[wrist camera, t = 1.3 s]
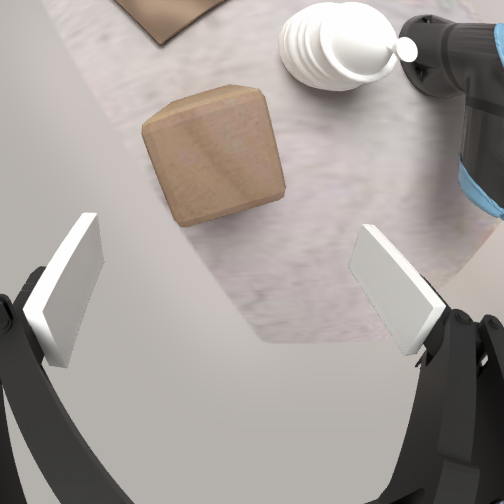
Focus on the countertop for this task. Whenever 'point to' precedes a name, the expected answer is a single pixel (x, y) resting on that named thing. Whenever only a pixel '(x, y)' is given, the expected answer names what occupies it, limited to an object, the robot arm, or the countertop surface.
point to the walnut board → (166, 15)
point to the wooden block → (215, 154)
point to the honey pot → (341, 46)
